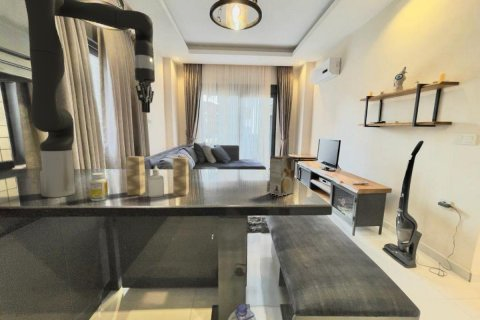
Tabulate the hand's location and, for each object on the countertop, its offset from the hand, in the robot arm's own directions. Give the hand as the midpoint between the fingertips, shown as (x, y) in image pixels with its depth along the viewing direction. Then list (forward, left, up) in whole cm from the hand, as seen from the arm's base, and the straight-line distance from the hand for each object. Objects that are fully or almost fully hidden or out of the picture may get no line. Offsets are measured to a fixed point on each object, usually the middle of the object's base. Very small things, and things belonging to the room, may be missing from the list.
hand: (146, 112), depth 92 cm
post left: (-2, -7, -33) cm, 34 cm away
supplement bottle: (-12, -15, -33) cm, 38 cm away
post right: (+16, -7, -33) cm, 37 cm away
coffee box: (+58, -4, -33) cm, 67 cm away
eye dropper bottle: (+7, -10, -33) cm, 35 cm away
